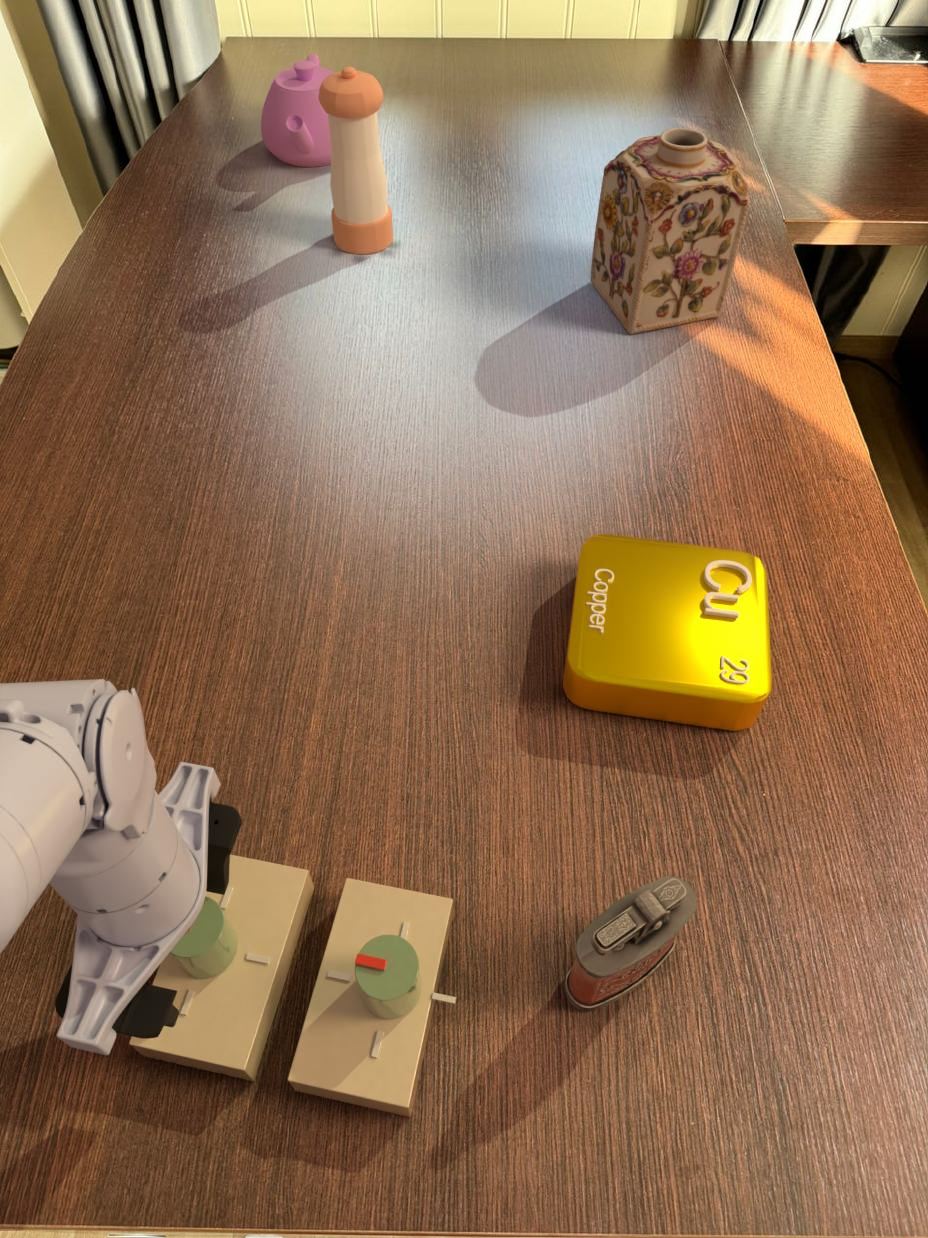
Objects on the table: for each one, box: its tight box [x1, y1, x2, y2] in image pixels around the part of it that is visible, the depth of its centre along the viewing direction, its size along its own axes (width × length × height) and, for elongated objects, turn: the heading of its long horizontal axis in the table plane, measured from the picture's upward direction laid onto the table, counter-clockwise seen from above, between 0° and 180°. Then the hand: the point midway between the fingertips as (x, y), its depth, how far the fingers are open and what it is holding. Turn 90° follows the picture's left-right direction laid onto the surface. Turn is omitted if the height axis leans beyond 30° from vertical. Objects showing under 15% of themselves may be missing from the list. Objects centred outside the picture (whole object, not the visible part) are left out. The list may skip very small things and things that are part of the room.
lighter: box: [563, 875, 698, 1013], centre depth 53 cm, size 8×3×10 cm, turn 123°
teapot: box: [260, 53, 335, 168], centre depth 120 cm, size 14×20×11 cm
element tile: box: [562, 533, 773, 732], centre depth 71 cm, size 15×15×5 cm
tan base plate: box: [128, 854, 315, 1082], centre depth 56 cm, size 12×8×3 cm
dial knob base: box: [287, 877, 457, 1118], centre depth 54 cm, size 12×8×3 cm
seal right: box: [355, 935, 422, 1019], centre depth 51 cm, size 4×4×4 cm
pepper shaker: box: [318, 66, 394, 255], centre depth 103 cm, size 7×7×19 cm
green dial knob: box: [169, 896, 238, 978], centre depth 53 cm, size 4×4×4 cm
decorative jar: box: [589, 127, 751, 335], centre depth 95 cm, size 12×12×18 cm
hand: (186, 949), depth 52 cm, fingers open, 7 cm apart
